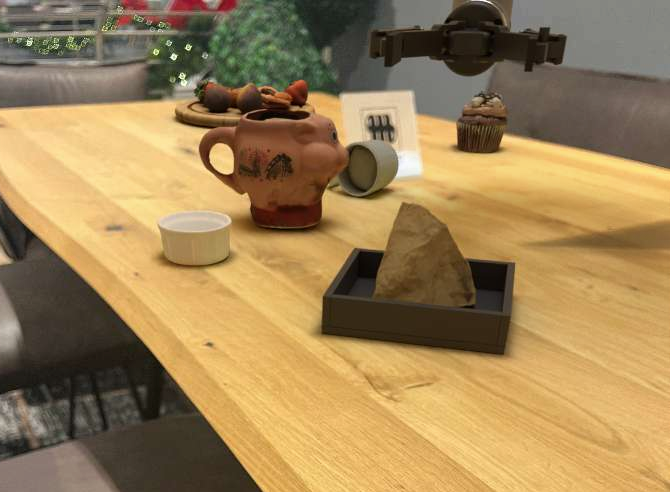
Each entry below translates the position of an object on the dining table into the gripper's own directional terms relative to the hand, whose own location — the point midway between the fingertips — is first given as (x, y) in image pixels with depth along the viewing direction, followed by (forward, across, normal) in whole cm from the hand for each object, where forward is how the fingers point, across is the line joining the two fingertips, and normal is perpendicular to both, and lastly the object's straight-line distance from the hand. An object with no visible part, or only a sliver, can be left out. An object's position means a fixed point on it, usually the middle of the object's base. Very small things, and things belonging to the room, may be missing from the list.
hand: (458, 53), depth 74 cm
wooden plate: (-98, +54, -22) cm, 114 cm away
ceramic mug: (-39, +16, -23) cm, 48 cm away
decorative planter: (-18, +24, -23) cm, 38 cm away
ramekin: (-1, +29, -23) cm, 37 cm away
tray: (+10, 0, -23) cm, 25 cm away
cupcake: (-79, 0, -22) cm, 83 cm away
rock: (+10, 0, -22) cm, 24 cm away
